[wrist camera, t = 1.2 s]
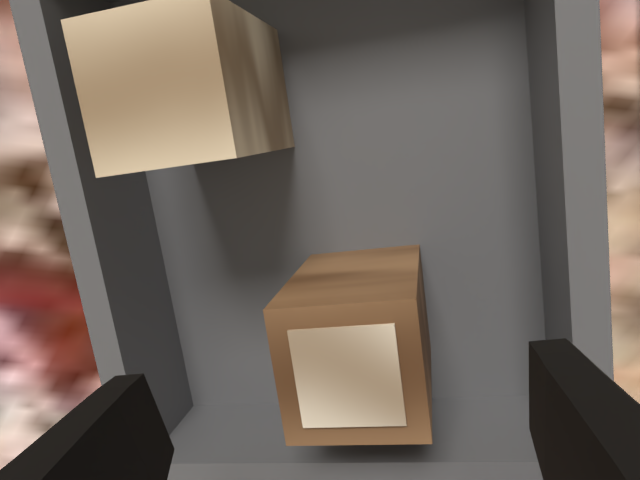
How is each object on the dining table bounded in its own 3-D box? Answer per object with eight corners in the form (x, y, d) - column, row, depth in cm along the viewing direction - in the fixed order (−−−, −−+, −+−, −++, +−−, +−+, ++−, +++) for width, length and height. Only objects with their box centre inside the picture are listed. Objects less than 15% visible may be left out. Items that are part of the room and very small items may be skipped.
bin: (575, 410, 20) (618, 492, 15) (182, 420, 23) (126, 488, 19) (547, -125, 16) (591, -215, 12) (90, -17, 20) (-5, -56, 15)
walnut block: (431, 349, 19) (432, 446, 14) (325, 354, 20) (285, 448, 15) (419, 244, 19) (415, 300, 13) (311, 254, 20) (261, 311, 14)
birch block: (294, 146, 19) (236, 158, 13) (192, 161, 20) (95, 177, 14) (277, 29, 18) (207, -13, 12) (171, 50, 19) (60, 19, 13)
